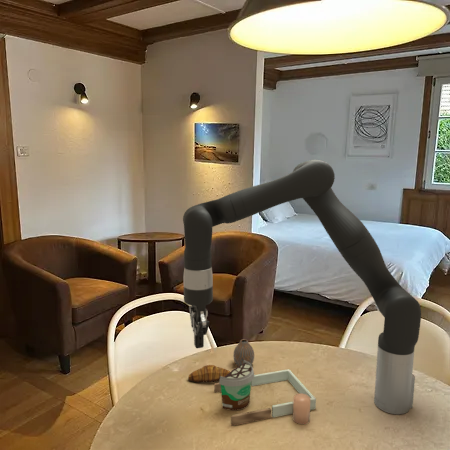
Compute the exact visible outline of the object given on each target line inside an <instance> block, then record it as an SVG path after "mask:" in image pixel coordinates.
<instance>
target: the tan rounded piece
mask: <svg viewBox="0 0 450 450" xmlns="http://www.w3.org/2000/svg"><path fill="white" fill-rule="evenodd" d="M292 398H293V401H292V402H293V414H292V420H293V422H295V423H297V424H299V425H307V424H309V422H310V419H311V410H310V397H309V396H308V395H306V394H302V393H299V392H298V393H296V394H294V395H293V397H292Z"/></svg>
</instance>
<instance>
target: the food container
mask: <svg viewBox="0 0 450 450" xmlns="http://www.w3.org/2000/svg"><path fill="white" fill-rule="evenodd" d="M252 365H253V364H252ZM252 365H251V364H250V363H249V362H247V361H245V360H244V363H243V364H242V365H241V366H239V367H238V366H237V367H235V368H233V369H232V370H231V371H230V373H229V374H228V375H226V376H225V377H222V376H220V380H219V381H218V383H219V384H221V392H220V393H221V404H222V405H221V407H222V409H225V410H228V411H239V410H243V409H245V408H247V407H248V406H249V404H250V400H251V392H252V391H251V390H252V386H251V381H252V380H253V378H254V375H255V371H254V367H253V366H252Z"/></svg>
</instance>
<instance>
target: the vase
mask: <svg viewBox="0 0 450 450" xmlns="http://www.w3.org/2000/svg"><path fill="white" fill-rule="evenodd" d="M232 357H233V361H234V364H235V365H236V366H237V367H239V366H241V365H242V364H243V363H244V360H245V361H247V362H249V363H250V364H251V365H253V363H254V361H255V352H254V348H253V347H252V345H251V344H250V343H249V341H248V339H246V338H243V339H240V341H239V342H238V344H237V345H236V346H235V348H234V350H233V356H232Z"/></svg>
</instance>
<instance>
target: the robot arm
mask: <svg viewBox="0 0 450 450" xmlns="http://www.w3.org/2000/svg"><path fill="white" fill-rule="evenodd" d="M335 175H336V174H335V171H334V169H333V167H332V165H330V164H329V163H328V162H326V161H324V160H322V159H310V160H306V161H303V162H300V163H299V164H297V165H296V166H295V167H294V168H293V171H292V172H290V173H288V174H286V175H284V176H282V177H279V178H276V179H273V180H270V181H267V182H264V183H261V184H257V185H252V186H250V187H247V188H242V189H241V190H237V191H235V192H232V193H229V194H227V195H225V196H222V197H220V198H218V199H214V200H208V201H206V202H205V201H204V202H201V203H198V204H195V205H193V206H190V207H188V208H187V210H186V211H184V214H183V217H182V221H183V232H184V246H185V247H184V250H183V263H184V264H183V265H184V266H183V268H184V270H183V276H182V277H183V301H184V303H185V305H188V311H189V317H190V325H191V328H192V332H193V341H194V342H193V345H194V347H195V349H202V348H204V344H205V343H204V342H205V341H204V340H205V339H204V336H206V335H207V333H208V330H209V327H210V321H209V320H208V319H207V317H208V316H209V315H208V314H209V312H208V309H207V308H206V306H208V305H210V304H211V303H212V302H213V300H214V285H213V284H214V283H213V282H214V281H213V280H214V279H213V278H214V276H213V267H212V259H213V258H212V241H213V228H214V227H216V226H218V225H221V224H232V223H235V222H238V221H241V220H244V219H247V218H249V217H251V216H254V215H256V214H259V213H262V212H264V211H267V210H269V209H272V208H274V207H276V206H279V205H282V204H285V203H288V202H292V201H294V200H298V199H302V200H304V202H305V203H306V204H307V205H308V206H309V208H310V209H311V210H312V211H313V213H314V214H315V216H316V217H317V219H318V220H319V222H320V223H321V226H322V227H323V229H324V230H325V232H326V233H327V235H328V237H329V238H330V239H331V242H332V243H333V245H334V246H335V247H336V249H337V250H338V253H340V255H341V257H342V258H343V259H344V260H345V262H346V263H347V265H348V266H349V267H350V268H351V269H352V271H353V272H354V273H355V274H356V275H357V276H358V277H359V278H360V279H361V281H362V282H363V283H364V285H365V286H366V288H367V290H368V291H369V293H370V295H371V297H372V299H373V300H374V303H375V305H376V307H377V309H378V310H379V313H381V316H383V317H384V319H383V320H384V324H383V332H381V333H379V335H378V338H377V339H378V340H377V352H376V353H377V354H376V365H375V366H376V369H375V384H374V399H373V401H374V405H375V406H376V407H377V408H378V409H379V410H381V411H383V412H385V413H388V414H392V415H404V414H406V413H408V412H409V411H410V409H412V408H414V407H413V405H414V397H415V396H414V394H415V383H416V382H415V380H416V375H415V374H413V372H414V371H413V369H414V358H415V348H416V347H415V346H416V345H417V344H418V341H419V335H420V330H421V321H422V309H421V305H420V303H419V301H418V300H417V298H415V297H414V296H413V295H412V294H410V292H408V291H407V290H406V289H405V288H403V286H402V285H401V284H400V283H399V282H398V281H397V279H396V278H395V277H394V275H392V273H391V272H390V270H389V269H388V267H387V265H386V263H385V260H384V257H383V255H382V253H381V250H380V247H379V245H378V244H377V242H376V240H375V239H374V237H373V236H372V234H371V233H370V231H369V230H368V228H367V227H366V225H364V223H363V222H362V221H361V220H360V219H359V218H358V217H357V215H355V214H354V213H353V212H352V211H351V210H350V209H349V208H348V207H347V206H346V205H345V204H344V203H342V201H340V199H339V198H338V197H337V195H336V193H335V192H334V190H333V188H332V187H333V185H334V182H335V179H336V177H335Z"/></svg>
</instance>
